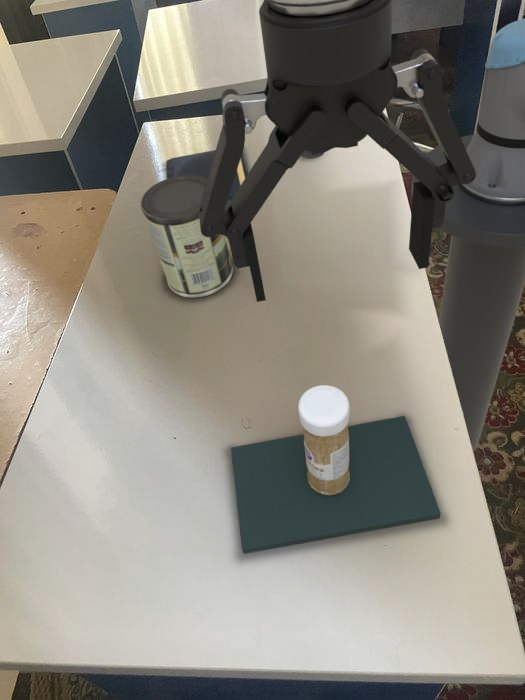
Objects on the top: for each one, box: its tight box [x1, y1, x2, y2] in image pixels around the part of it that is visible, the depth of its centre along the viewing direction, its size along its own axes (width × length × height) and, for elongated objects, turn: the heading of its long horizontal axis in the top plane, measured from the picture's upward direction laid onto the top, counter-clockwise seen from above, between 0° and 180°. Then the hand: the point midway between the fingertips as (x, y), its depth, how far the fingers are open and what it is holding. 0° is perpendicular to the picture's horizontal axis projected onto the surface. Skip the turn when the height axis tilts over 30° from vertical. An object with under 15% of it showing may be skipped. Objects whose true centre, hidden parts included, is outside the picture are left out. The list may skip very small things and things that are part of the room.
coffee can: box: [140, 175, 234, 299], centre depth 81 cm, size 10×10×14 cm
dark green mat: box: [230, 415, 442, 554], centre depth 61 cm, size 20×12×1 cm, turn 98°
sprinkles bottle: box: [297, 384, 351, 495], centre depth 55 cm, size 5×5×13 cm
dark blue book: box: [165, 149, 248, 208], centre depth 102 cm, size 20×2×15 cm
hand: (338, 274), depth 48 cm, fingers open, 13 cm apart
